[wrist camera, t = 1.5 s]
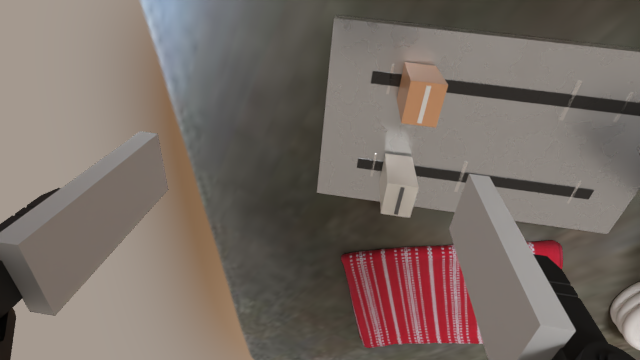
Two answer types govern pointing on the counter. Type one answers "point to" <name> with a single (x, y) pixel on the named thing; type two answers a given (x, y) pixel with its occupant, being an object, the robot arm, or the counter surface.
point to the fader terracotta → (421, 94)
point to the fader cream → (398, 185)
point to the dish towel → (417, 294)
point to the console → (487, 120)
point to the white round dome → (628, 314)
